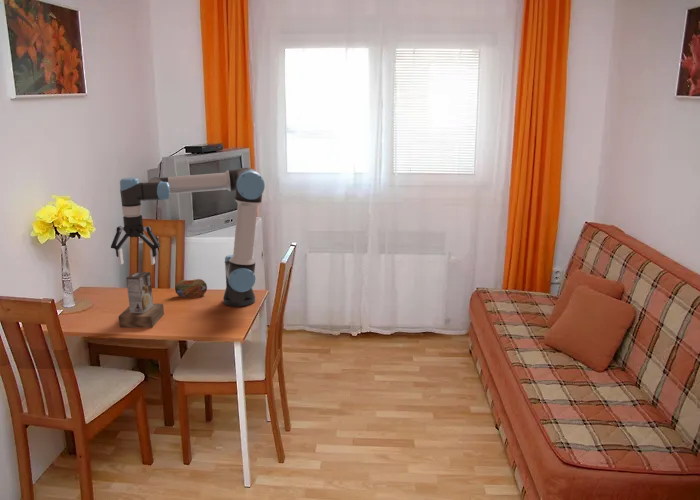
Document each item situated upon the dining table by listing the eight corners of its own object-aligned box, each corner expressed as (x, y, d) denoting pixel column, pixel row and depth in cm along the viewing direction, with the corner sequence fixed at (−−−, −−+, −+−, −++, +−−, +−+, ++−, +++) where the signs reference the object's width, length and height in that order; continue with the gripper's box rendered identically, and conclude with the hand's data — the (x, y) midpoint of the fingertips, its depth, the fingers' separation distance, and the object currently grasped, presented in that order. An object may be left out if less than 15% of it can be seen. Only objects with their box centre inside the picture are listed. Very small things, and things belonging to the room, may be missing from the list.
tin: (175, 297, 288) (174, 281, 286) (176, 295, 291) (175, 279, 289) (207, 296, 291) (206, 279, 288) (207, 293, 294) (206, 277, 291)
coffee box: (140, 305, 262) (137, 271, 258) (153, 306, 261) (150, 271, 257) (129, 313, 254) (125, 277, 250) (143, 314, 253) (139, 278, 248)
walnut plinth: (164, 313, 266) (163, 303, 265) (152, 327, 251) (151, 316, 250) (133, 313, 266) (132, 303, 265) (119, 327, 251) (118, 316, 250)
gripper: (165, 213, 250) (169, 261, 256) (106, 213, 250) (111, 261, 256) (159, 217, 243) (163, 266, 248) (99, 217, 243) (104, 266, 249)
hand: (137, 264), depth 252 cm, fingers open, 13 cm apart
